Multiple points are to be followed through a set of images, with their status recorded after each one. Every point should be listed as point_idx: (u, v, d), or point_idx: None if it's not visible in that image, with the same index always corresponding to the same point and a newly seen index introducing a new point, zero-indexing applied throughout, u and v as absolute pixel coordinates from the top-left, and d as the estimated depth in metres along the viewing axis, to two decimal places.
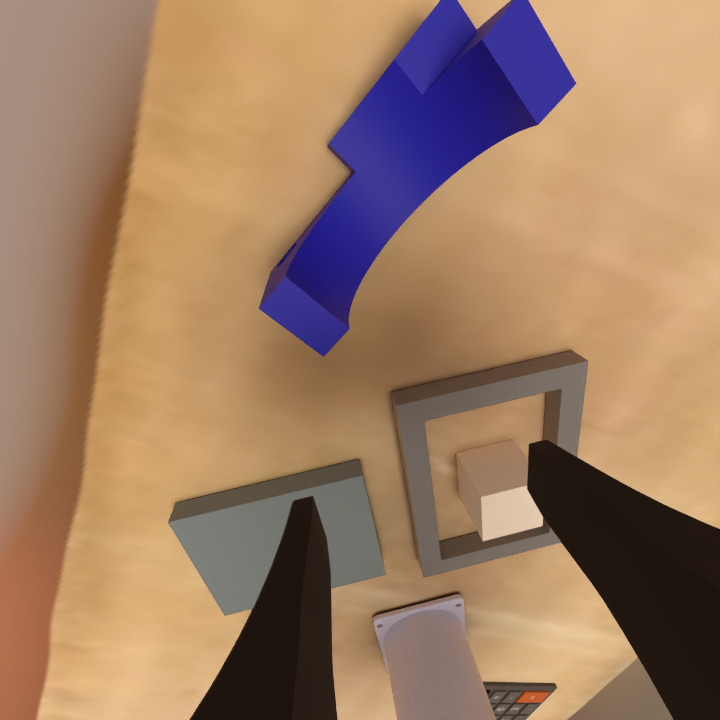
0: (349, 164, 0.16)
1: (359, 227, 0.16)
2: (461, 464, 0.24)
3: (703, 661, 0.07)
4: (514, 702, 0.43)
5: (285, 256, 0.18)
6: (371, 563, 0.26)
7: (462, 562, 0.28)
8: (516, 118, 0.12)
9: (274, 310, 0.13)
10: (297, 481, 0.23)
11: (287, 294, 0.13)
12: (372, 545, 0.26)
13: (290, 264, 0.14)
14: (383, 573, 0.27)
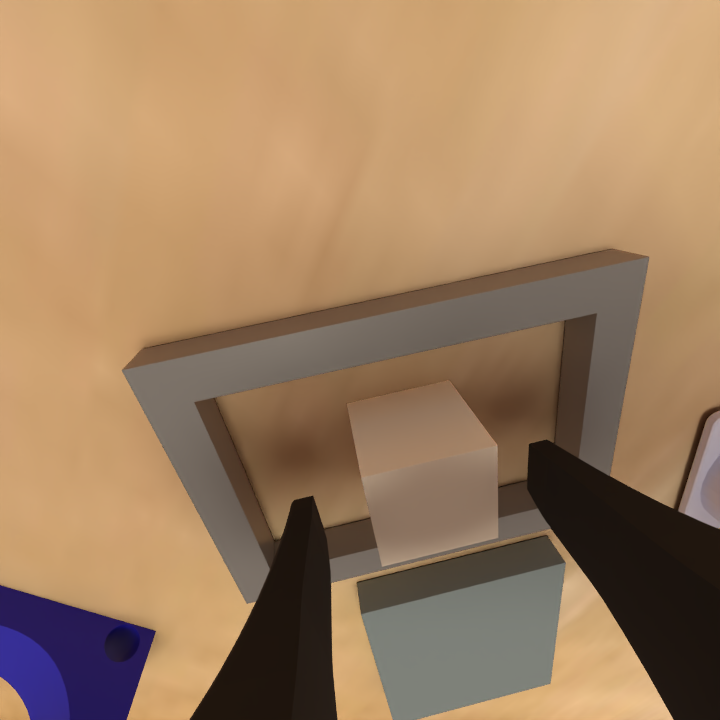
0: None
1: (21, 661, 0.15)
2: None
3: (703, 661, 0.07)
4: None
5: None
6: (531, 581, 0.18)
7: (597, 466, 0.15)
8: None
9: None
10: None
11: None
12: (496, 585, 0.18)
13: None
14: (561, 565, 0.18)
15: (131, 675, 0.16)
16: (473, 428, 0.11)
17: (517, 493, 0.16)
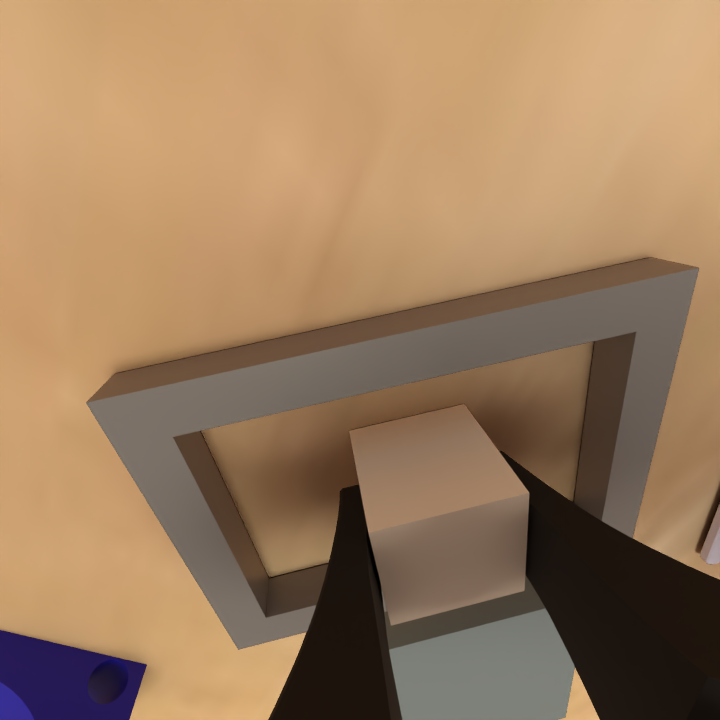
0: None
1: None
2: None
3: (627, 682, 0.07)
4: None
5: (89, 695, 0.16)
6: (550, 617, 0.16)
7: (627, 497, 0.13)
8: None
9: None
10: None
11: None
12: (512, 622, 0.16)
13: None
14: None
15: (118, 718, 0.14)
16: (498, 469, 0.10)
17: None
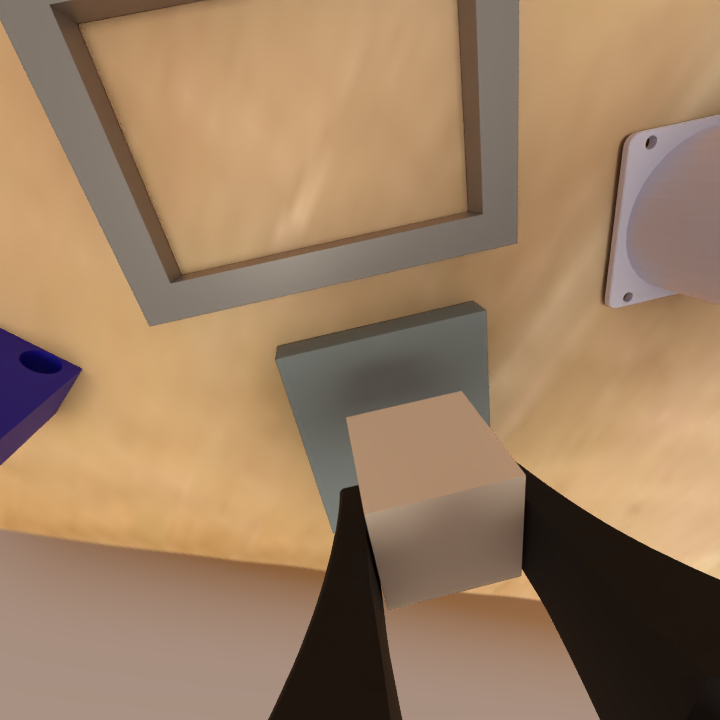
0: None
1: None
2: None
3: (627, 682, 0.07)
4: None
5: None
6: (452, 334, 0.17)
7: (502, 166, 0.15)
8: None
9: None
10: None
11: None
12: (416, 335, 0.17)
13: None
14: (482, 314, 0.17)
15: (48, 384, 0.15)
16: (495, 452, 0.10)
17: (429, 222, 0.16)
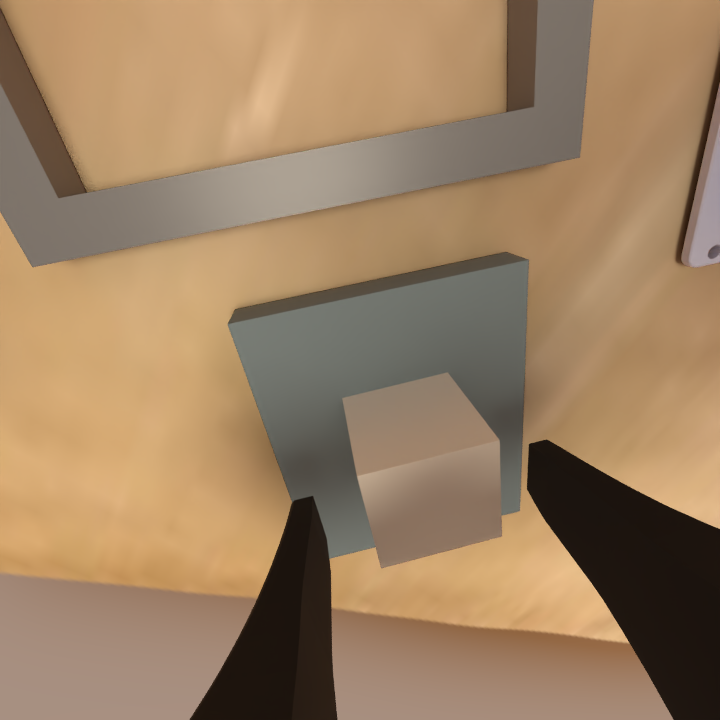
0: None
1: None
2: None
3: (703, 661, 0.07)
4: None
5: None
6: (480, 293, 0.12)
7: (569, 27, 0.10)
8: None
9: None
10: None
11: None
12: (429, 294, 0.12)
13: None
14: (523, 265, 0.12)
15: None
16: (474, 423, 0.11)
17: None
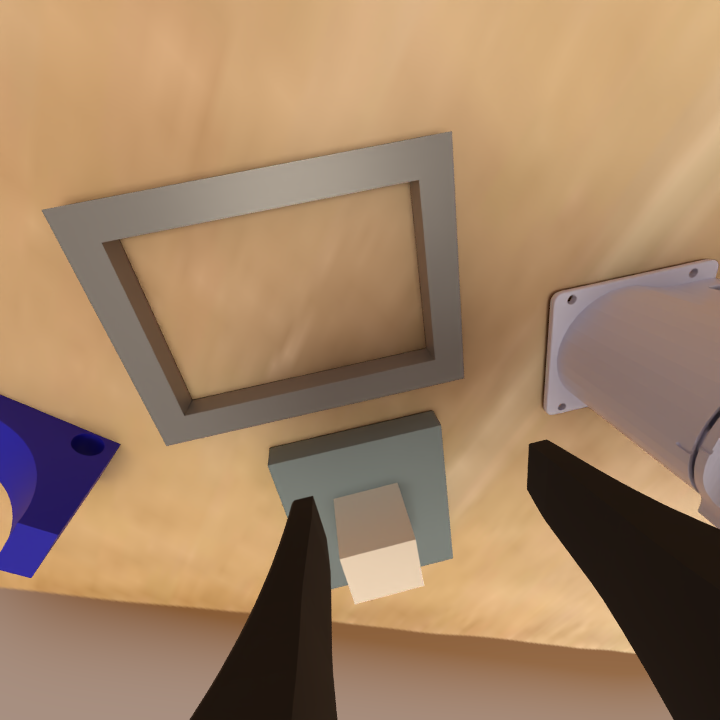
0: None
1: None
2: None
3: (703, 661, 0.07)
4: None
5: None
6: (414, 442, 0.21)
7: (449, 327, 0.18)
8: None
9: (27, 569, 0.16)
10: None
11: (7, 564, 0.15)
12: (383, 444, 0.21)
13: None
14: (437, 428, 0.21)
15: (95, 465, 0.19)
16: (405, 525, 0.20)
17: (394, 360, 0.20)
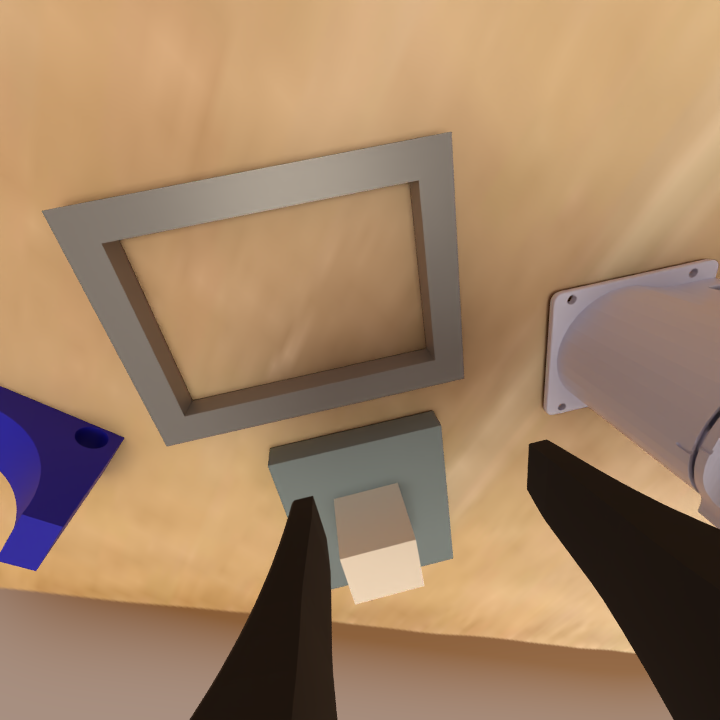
0: None
1: (1, 440, 0.17)
2: None
3: (703, 661, 0.07)
4: None
5: None
6: (414, 442, 0.21)
7: (449, 328, 0.18)
8: None
9: (32, 562, 0.16)
10: None
11: (11, 557, 0.15)
12: (383, 444, 0.21)
13: None
14: (438, 428, 0.21)
15: (99, 458, 0.18)
16: (405, 526, 0.20)
17: (394, 360, 0.20)
